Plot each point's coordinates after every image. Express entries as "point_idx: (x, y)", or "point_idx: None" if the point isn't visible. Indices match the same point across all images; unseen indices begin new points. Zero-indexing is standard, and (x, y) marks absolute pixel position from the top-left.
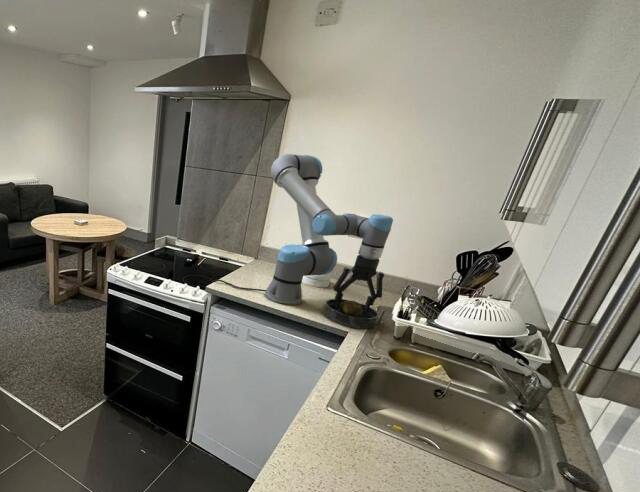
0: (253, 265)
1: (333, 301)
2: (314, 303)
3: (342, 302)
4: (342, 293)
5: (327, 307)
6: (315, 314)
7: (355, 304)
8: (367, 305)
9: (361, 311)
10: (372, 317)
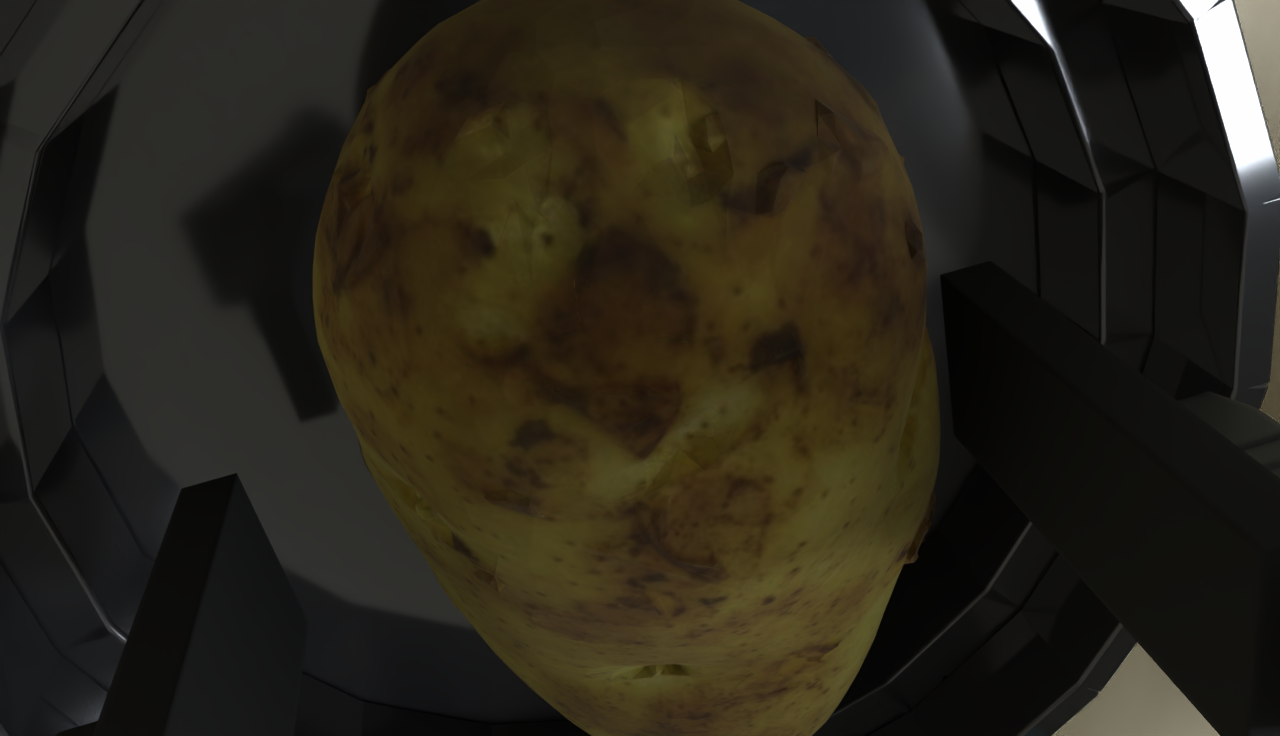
0: None
1: (963, 722)
2: (1145, 655)
3: (927, 523)
4: (1258, 631)
5: (1252, 141)
6: (1262, 84)
7: (667, 210)
8: (210, 670)
9: (356, 136)
10: (42, 500)
